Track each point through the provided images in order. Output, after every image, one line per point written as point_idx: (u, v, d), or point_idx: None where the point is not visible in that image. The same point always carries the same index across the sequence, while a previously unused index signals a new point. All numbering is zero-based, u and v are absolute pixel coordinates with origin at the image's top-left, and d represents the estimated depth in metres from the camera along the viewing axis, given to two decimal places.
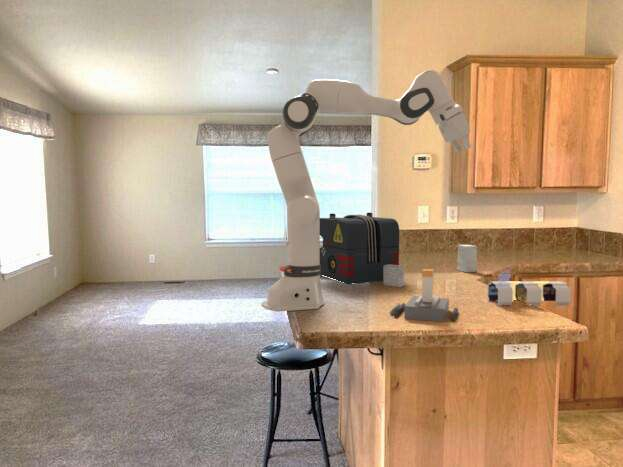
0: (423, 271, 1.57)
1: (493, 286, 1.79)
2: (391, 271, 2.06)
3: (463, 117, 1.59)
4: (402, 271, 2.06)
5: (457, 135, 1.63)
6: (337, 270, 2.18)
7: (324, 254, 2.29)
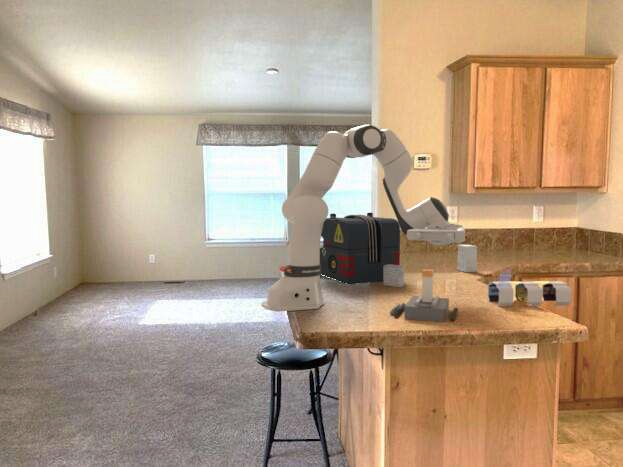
0: (423, 271, 1.57)
1: (493, 286, 1.78)
2: (391, 271, 2.06)
3: None
4: (402, 271, 2.06)
5: (454, 230, 1.71)
6: (338, 270, 2.18)
7: (324, 254, 2.29)
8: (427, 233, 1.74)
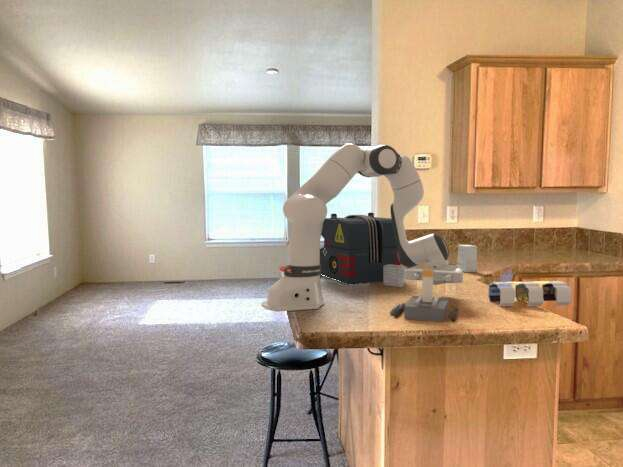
0: (423, 271, 1.57)
1: (494, 287, 1.78)
2: (391, 271, 2.06)
3: None
4: (402, 271, 2.06)
5: (452, 271, 1.69)
6: (338, 270, 2.17)
7: (325, 254, 2.28)
8: None
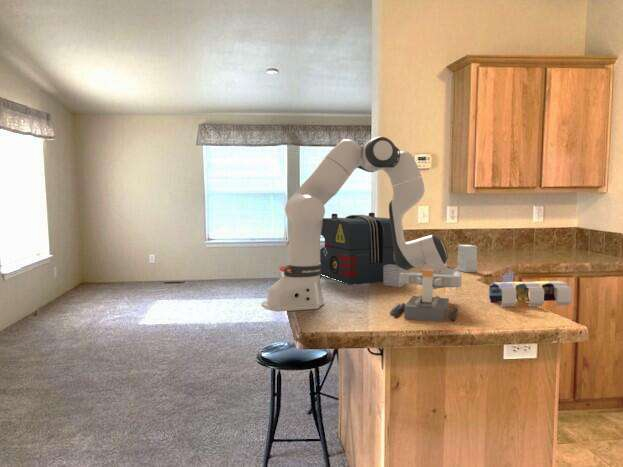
0: (423, 271, 1.57)
1: (494, 287, 1.77)
2: (391, 271, 2.06)
3: None
4: (402, 271, 2.06)
5: (450, 275, 1.60)
6: (339, 271, 2.17)
7: (326, 254, 2.28)
8: (421, 277, 1.63)
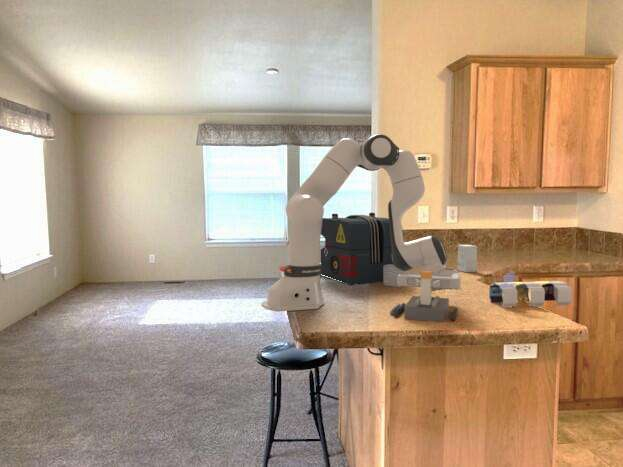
0: (421, 273, 1.53)
1: (494, 287, 1.76)
2: (391, 271, 2.06)
3: None
4: (402, 271, 2.06)
5: (449, 277, 1.57)
6: (340, 271, 2.16)
7: (326, 254, 2.27)
8: None
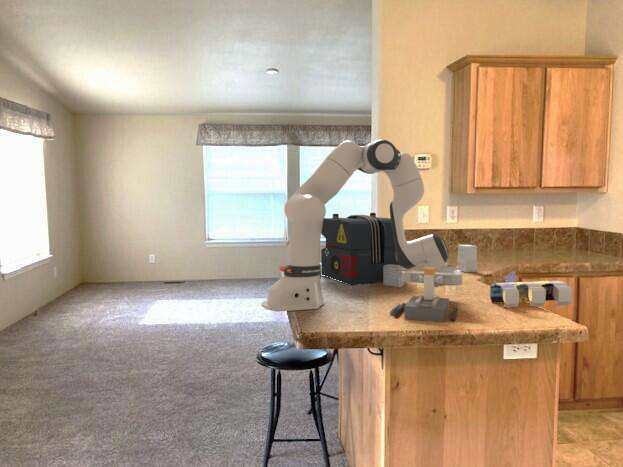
0: (425, 269, 1.60)
1: (495, 287, 1.76)
2: (391, 271, 2.06)
3: None
4: None
5: (451, 273, 1.64)
6: (340, 271, 2.16)
7: (327, 254, 2.27)
8: None
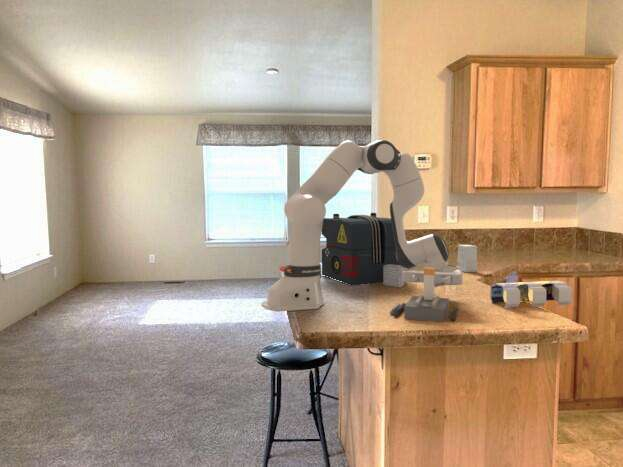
0: (425, 269, 1.60)
1: (495, 288, 1.75)
2: (391, 271, 2.06)
3: None
4: (402, 271, 2.06)
5: (451, 273, 1.64)
6: (341, 271, 2.15)
7: (327, 255, 2.26)
8: (423, 275, 1.67)
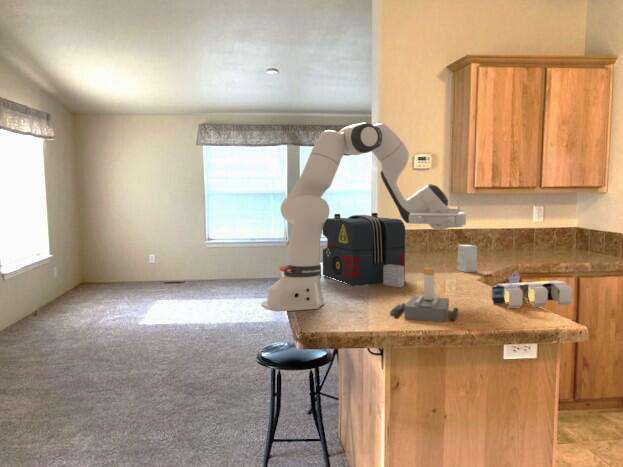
0: (425, 269, 1.60)
1: (496, 288, 1.74)
2: (391, 271, 2.06)
3: None
4: (402, 271, 2.06)
5: (455, 214, 1.74)
6: (342, 271, 2.14)
7: (328, 255, 2.25)
8: (429, 217, 1.77)
